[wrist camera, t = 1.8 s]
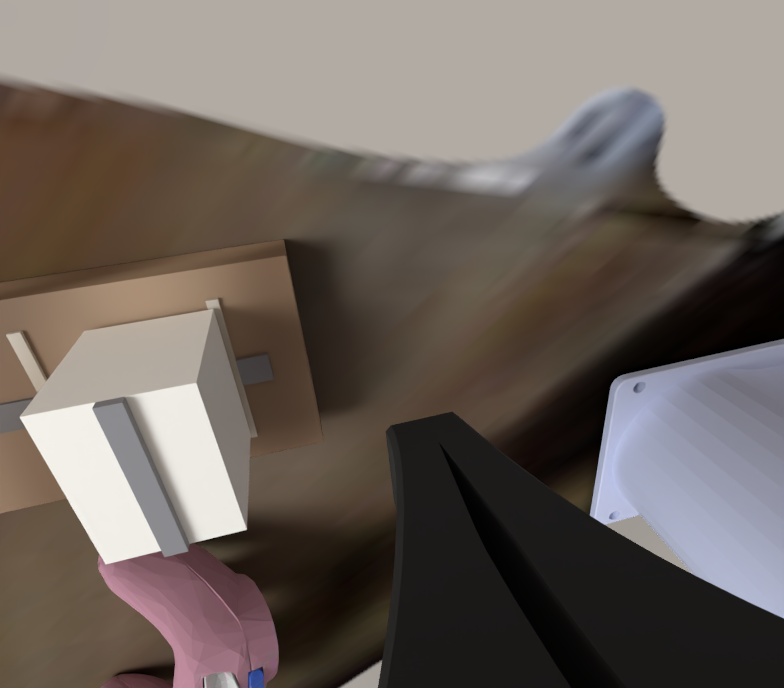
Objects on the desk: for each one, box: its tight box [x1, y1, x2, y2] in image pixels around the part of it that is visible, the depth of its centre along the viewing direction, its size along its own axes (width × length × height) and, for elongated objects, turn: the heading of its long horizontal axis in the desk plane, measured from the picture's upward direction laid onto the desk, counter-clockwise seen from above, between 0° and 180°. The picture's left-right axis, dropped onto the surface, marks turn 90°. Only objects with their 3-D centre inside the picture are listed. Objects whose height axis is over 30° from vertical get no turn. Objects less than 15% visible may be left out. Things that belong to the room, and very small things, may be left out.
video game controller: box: [98, 543, 279, 688], centre depth 17 cm, size 10×5×7 cm, turn 164°
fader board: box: [0, 239, 324, 513], centre depth 13 cm, size 13×6×2 cm, turn 95°
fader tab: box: [20, 309, 251, 564], centre depth 11 cm, size 3×4×4 cm
